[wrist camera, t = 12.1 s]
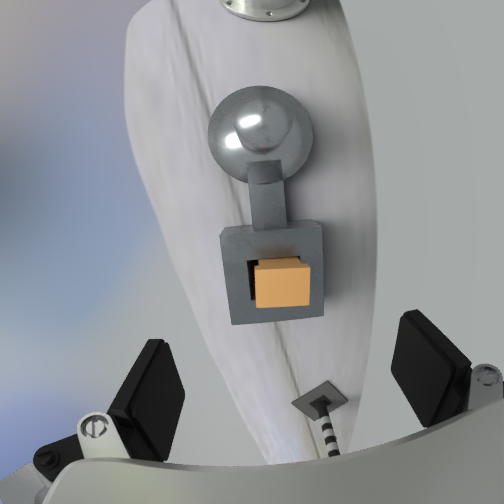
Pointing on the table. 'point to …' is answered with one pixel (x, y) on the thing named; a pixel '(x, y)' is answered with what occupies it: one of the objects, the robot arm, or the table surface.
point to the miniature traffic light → (322, 411)
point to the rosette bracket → (265, 196)
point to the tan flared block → (282, 282)
